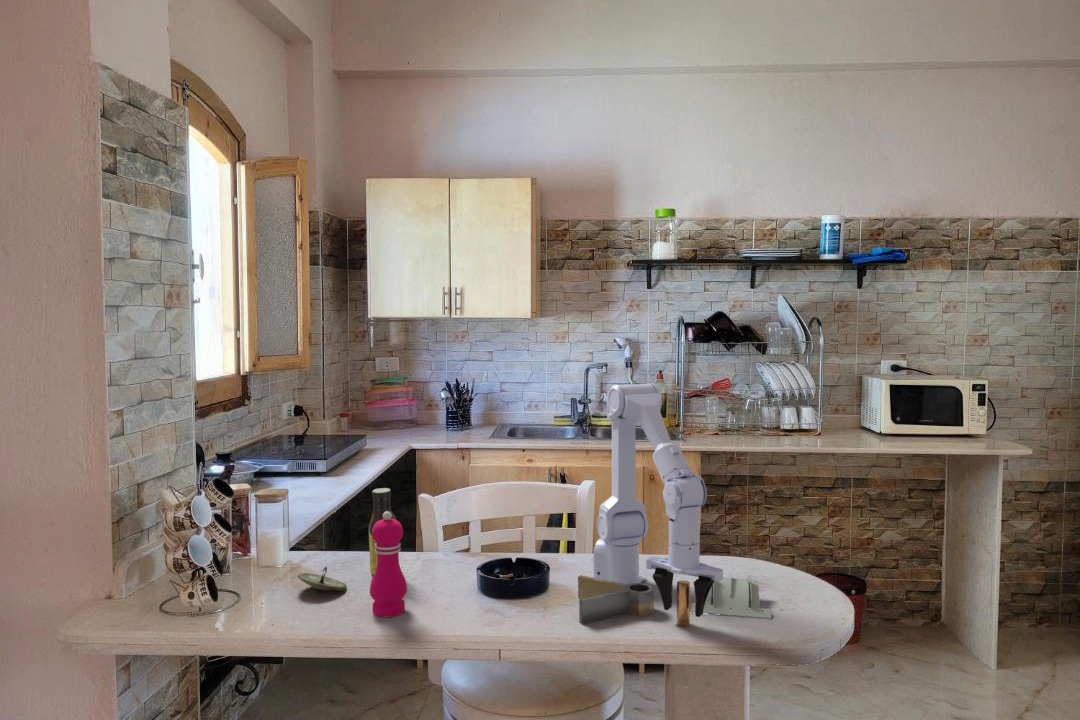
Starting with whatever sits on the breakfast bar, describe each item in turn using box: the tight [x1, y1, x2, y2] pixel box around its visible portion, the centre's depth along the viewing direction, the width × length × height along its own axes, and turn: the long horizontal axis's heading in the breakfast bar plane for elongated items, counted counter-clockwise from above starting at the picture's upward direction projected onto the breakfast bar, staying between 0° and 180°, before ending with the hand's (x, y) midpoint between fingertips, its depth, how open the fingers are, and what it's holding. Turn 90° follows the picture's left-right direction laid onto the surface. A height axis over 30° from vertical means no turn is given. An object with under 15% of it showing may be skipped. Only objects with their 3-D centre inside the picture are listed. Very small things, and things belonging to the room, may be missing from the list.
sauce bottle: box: [368, 487, 400, 580], centre depth 177 cm, size 7×6×20 cm
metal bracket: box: [691, 572, 772, 621], centre depth 161 cm, size 14×6×15 cm
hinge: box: [577, 574, 655, 625], centre depth 157 cm, size 16×15×4 cm
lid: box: [297, 566, 347, 592], centre depth 170 cm, size 11×10×5 cm
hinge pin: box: [676, 580, 691, 628], centre depth 151 cm, size 2×2×8 cm
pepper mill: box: [369, 511, 408, 618], centre depth 158 cm, size 7×7×20 cm
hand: (683, 611), depth 151 cm, fingers open, 6 cm apart
